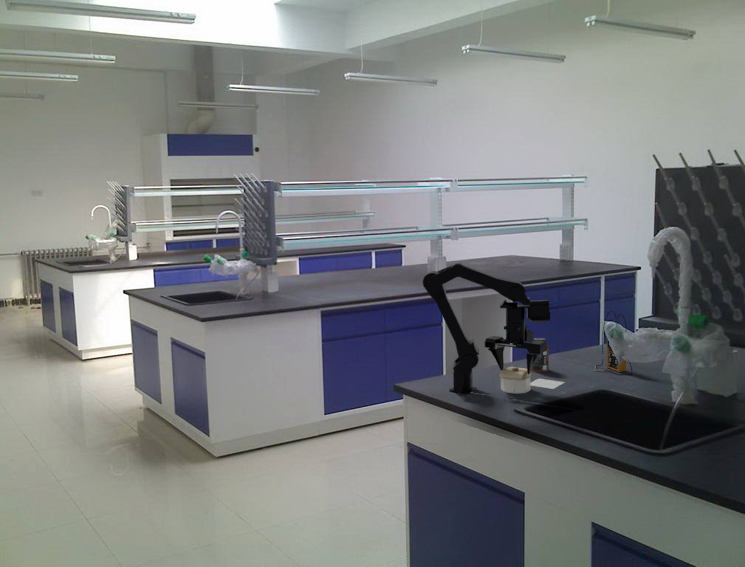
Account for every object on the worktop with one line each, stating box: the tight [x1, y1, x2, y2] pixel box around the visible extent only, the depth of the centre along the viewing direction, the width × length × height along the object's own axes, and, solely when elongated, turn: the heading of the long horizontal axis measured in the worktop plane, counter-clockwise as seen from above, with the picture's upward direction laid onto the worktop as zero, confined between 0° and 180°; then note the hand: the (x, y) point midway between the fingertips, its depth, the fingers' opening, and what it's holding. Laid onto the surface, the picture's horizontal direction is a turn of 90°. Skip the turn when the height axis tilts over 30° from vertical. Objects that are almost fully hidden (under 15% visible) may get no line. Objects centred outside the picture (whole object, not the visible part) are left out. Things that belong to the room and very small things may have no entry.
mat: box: [530, 378, 566, 390], centre depth 230 cm, size 9×9×1 cm
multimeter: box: [594, 310, 633, 376], centre depth 244 cm, size 15×10×20 cm
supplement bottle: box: [531, 337, 550, 373], centre depth 247 cm, size 6×6×11 cm
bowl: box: [500, 376, 531, 394], centre depth 225 cm, size 8×8×4 cm
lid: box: [498, 366, 532, 381], centre depth 224 cm, size 7×7×3 cm
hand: (515, 372), depth 224 cm, fingers open, 9 cm apart
